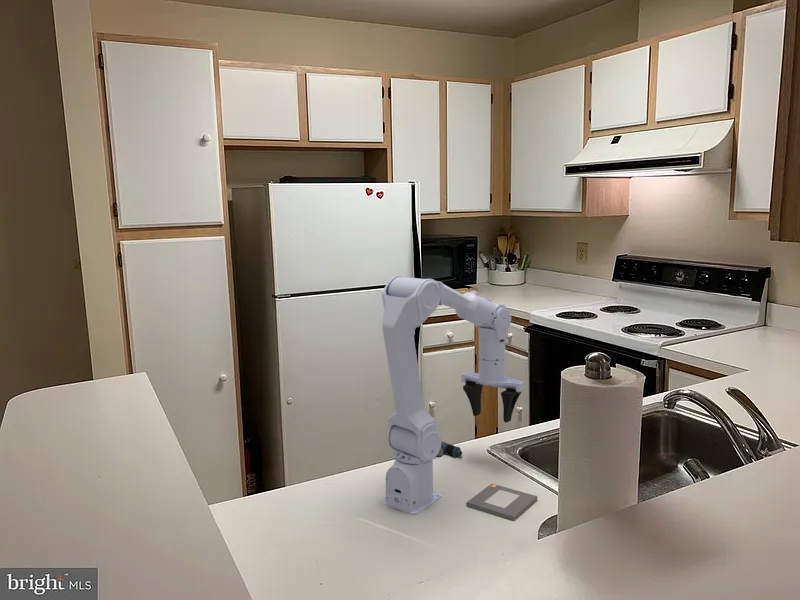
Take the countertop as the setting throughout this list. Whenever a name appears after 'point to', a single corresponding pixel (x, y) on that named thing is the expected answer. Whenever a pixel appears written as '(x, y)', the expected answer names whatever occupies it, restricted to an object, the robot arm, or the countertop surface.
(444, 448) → the vaping device
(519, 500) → the computer chip
